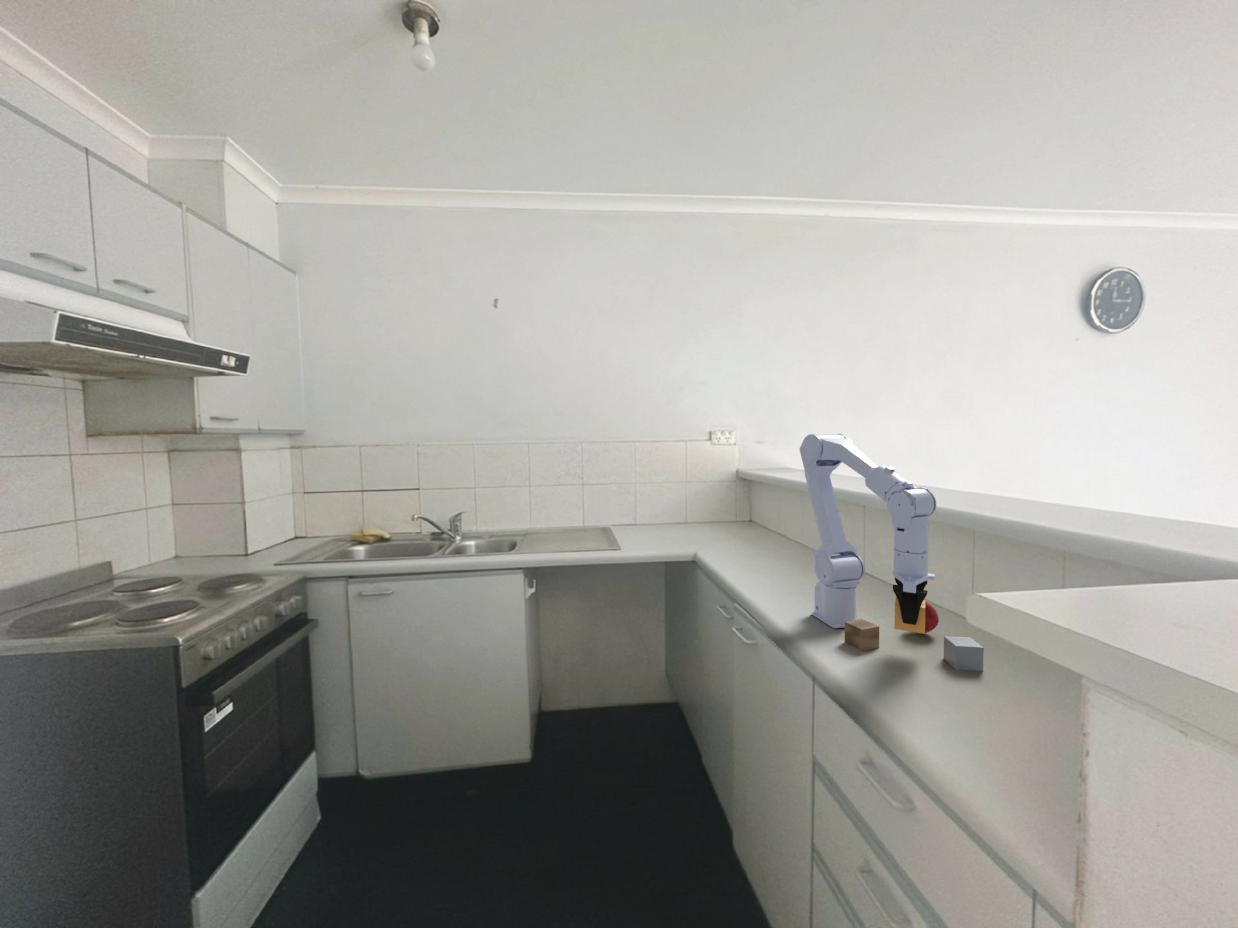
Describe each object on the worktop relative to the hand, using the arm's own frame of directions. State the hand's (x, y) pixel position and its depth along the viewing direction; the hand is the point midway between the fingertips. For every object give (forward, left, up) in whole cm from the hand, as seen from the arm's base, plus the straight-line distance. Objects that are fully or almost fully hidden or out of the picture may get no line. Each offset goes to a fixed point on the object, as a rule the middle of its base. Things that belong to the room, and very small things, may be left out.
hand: (909, 618), depth 93 cm
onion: (-8, +10, -7) cm, 15 cm away
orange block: (0, 0, -2) cm, 2 cm away
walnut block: (-6, -6, -7) cm, 11 cm away
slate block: (+6, +6, -7) cm, 11 cm away
